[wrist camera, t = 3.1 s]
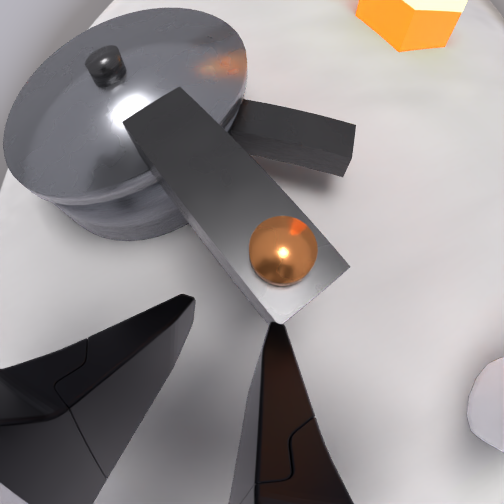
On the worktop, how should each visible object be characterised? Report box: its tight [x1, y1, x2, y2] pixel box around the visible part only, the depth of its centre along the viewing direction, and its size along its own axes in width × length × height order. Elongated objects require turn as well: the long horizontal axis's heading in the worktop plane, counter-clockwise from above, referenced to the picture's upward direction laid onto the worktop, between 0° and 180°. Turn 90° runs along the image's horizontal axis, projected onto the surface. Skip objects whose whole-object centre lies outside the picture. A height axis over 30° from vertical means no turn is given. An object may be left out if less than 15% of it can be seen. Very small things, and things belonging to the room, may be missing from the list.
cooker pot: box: [52, 99, 356, 241], centre depth 19 cm, size 15×24×6 cm, turn 75°
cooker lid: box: [3, 8, 350, 325], centre depth 13 cm, size 16×24×4 cm, turn 38°
